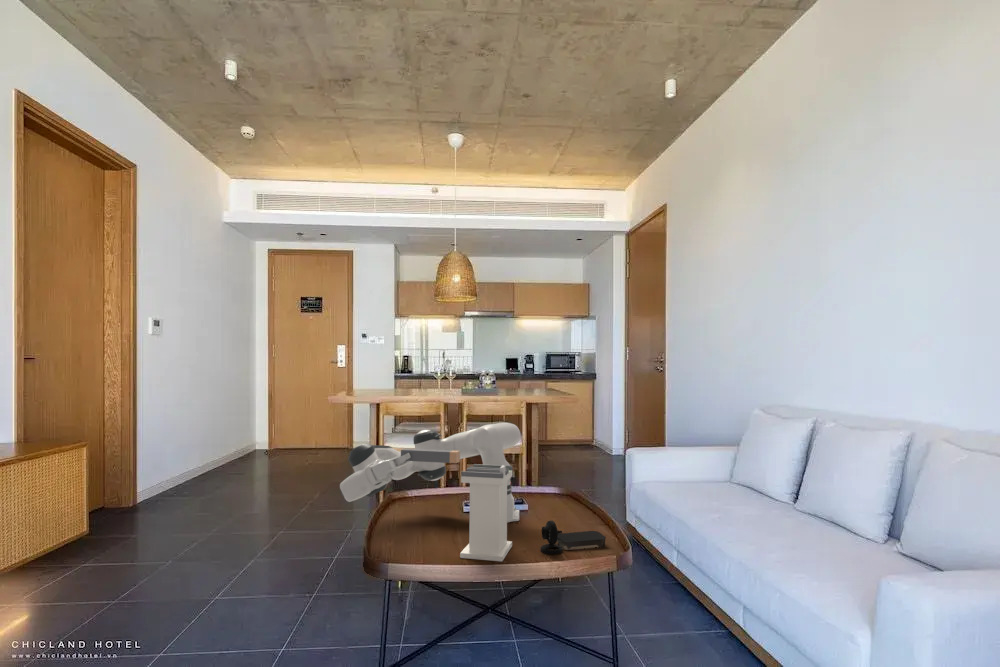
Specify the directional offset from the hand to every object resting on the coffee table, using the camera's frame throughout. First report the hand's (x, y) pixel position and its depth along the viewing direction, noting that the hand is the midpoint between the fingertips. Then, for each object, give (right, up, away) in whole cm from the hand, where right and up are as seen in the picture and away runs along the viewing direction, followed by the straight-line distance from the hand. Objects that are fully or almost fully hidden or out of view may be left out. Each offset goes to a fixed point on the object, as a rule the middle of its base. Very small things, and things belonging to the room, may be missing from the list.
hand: (413, 453), depth 180 cm
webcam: (+47, -33, -3) cm, 58 cm away
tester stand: (+26, -32, -4) cm, 41 cm away
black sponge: (+58, -33, +3) cm, 67 cm away
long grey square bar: (+6, -2, -2) cm, 7 cm away
